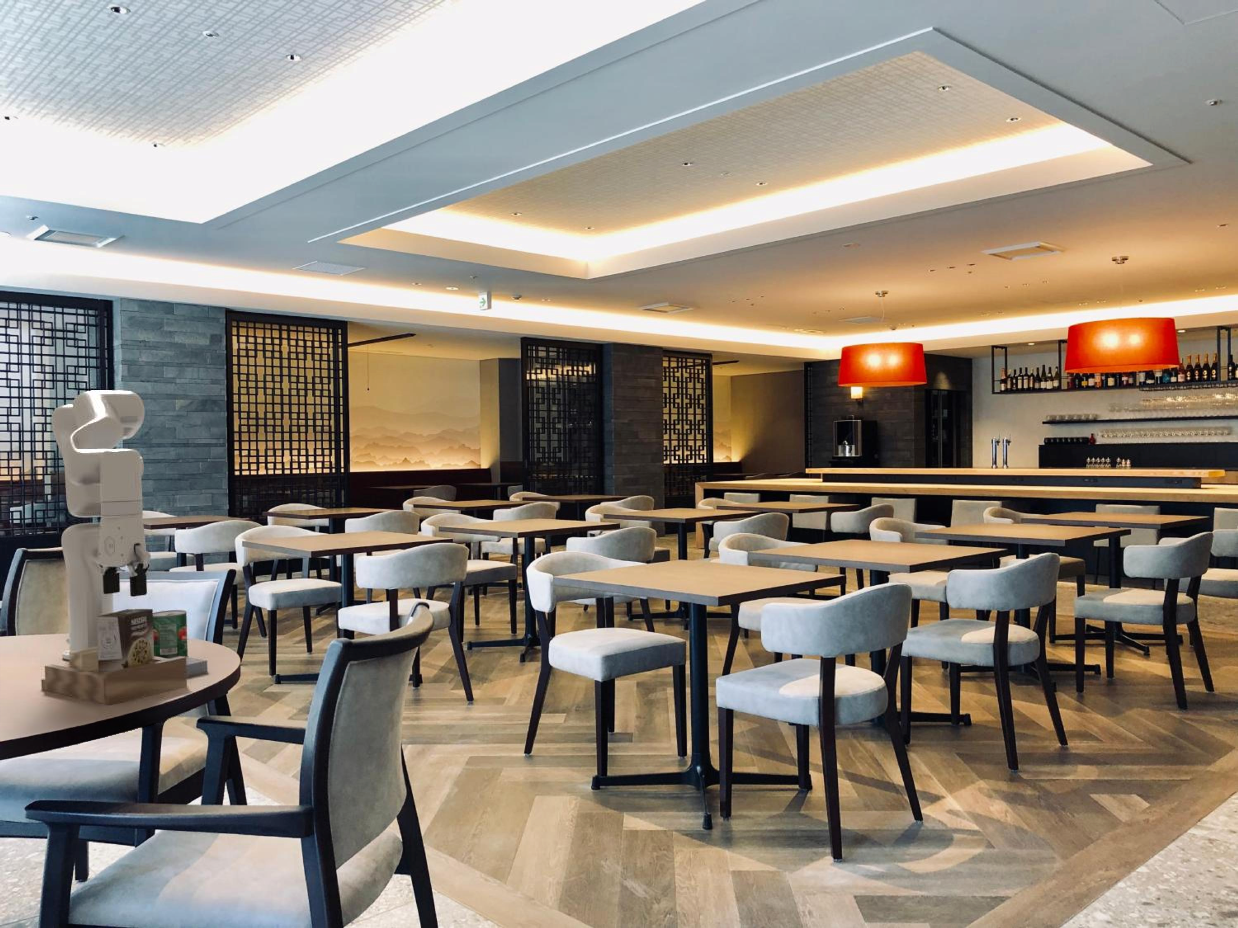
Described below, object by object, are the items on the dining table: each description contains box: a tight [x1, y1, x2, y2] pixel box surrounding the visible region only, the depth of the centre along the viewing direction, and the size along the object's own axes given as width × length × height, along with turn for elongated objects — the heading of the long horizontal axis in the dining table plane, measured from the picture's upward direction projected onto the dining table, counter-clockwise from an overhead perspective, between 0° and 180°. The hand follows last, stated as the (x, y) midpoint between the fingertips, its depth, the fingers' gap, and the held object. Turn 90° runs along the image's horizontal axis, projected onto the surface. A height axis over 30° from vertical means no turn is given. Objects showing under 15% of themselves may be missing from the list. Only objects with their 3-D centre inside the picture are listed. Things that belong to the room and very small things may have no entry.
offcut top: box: [68, 647, 98, 671], centre depth 204 cm, size 5×8×4 cm, turn 146°
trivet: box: [167, 656, 208, 677], centre depth 212 cm, size 10×8×2 cm
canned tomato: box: [153, 609, 189, 658], centre depth 225 cm, size 8×8×11 cm
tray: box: [40, 656, 188, 706], centre depth 200 cm, size 25×16×6 cm, turn 57°
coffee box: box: [97, 608, 154, 675], centre depth 197 cm, size 9×6×16 cm
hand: (125, 594), depth 197 cm, fingers open, 9 cm apart
